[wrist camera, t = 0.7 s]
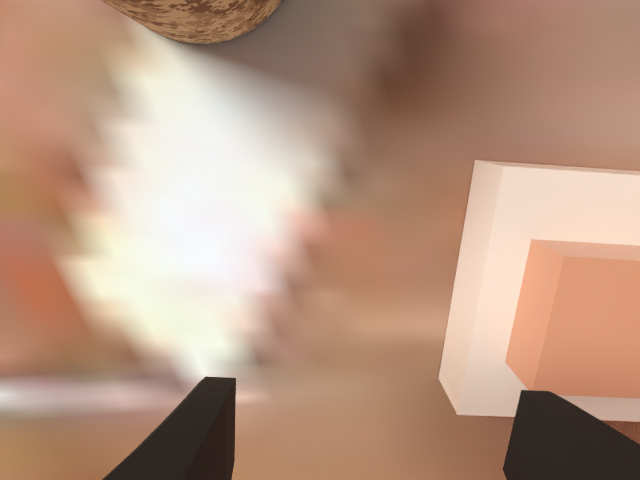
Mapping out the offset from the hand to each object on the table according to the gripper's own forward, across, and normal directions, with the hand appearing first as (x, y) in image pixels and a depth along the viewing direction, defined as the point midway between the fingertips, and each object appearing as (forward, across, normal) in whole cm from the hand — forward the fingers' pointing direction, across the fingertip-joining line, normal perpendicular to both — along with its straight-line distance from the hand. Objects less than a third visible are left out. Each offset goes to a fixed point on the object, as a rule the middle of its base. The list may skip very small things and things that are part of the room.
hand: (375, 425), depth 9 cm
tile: (+7, -10, 0) cm, 12 cm away
